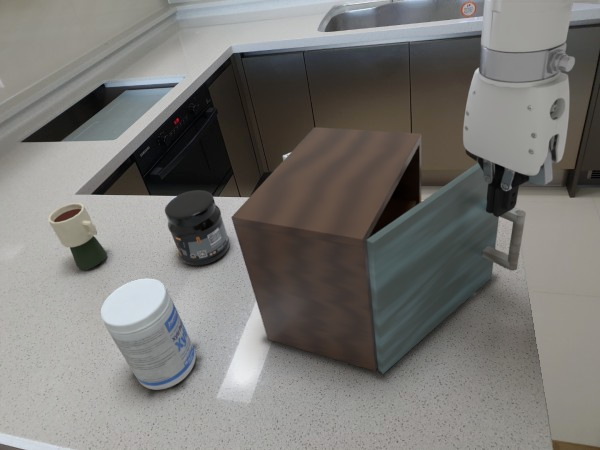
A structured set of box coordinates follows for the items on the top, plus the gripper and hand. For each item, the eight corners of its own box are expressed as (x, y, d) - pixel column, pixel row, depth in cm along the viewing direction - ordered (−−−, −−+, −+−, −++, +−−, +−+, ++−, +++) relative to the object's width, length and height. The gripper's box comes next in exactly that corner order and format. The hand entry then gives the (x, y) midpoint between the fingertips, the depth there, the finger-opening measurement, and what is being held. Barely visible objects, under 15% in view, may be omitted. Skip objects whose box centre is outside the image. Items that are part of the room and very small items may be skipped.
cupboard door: (521, 292, 73) (545, 159, 59) (412, 397, 62) (409, 263, 48) (486, 274, 77) (500, 146, 63) (377, 370, 66) (366, 239, 52)
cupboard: (421, 255, 84) (421, 133, 70) (375, 371, 66) (362, 239, 52) (331, 239, 92) (314, 127, 78) (267, 339, 74) (230, 217, 59)
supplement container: (187, 237, 100) (169, 191, 93) (234, 232, 99) (220, 185, 92) (175, 270, 92) (154, 222, 85) (226, 265, 90) (210, 216, 83)
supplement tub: (205, 371, 71) (175, 305, 62) (145, 404, 68) (105, 338, 59) (186, 332, 78) (157, 267, 69) (131, 359, 75) (94, 295, 66)
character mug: (123, 253, 99) (99, 204, 91) (102, 276, 94) (74, 225, 86) (85, 248, 103) (58, 200, 95) (62, 269, 98) (32, 220, 90)
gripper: (619, 62, 42) (577, 224, 52) (484, 38, 52) (472, 176, 63) (567, 88, 39) (534, 253, 50) (436, 57, 50) (432, 198, 61)
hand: (500, 209), depth 56 cm, fingers closed
